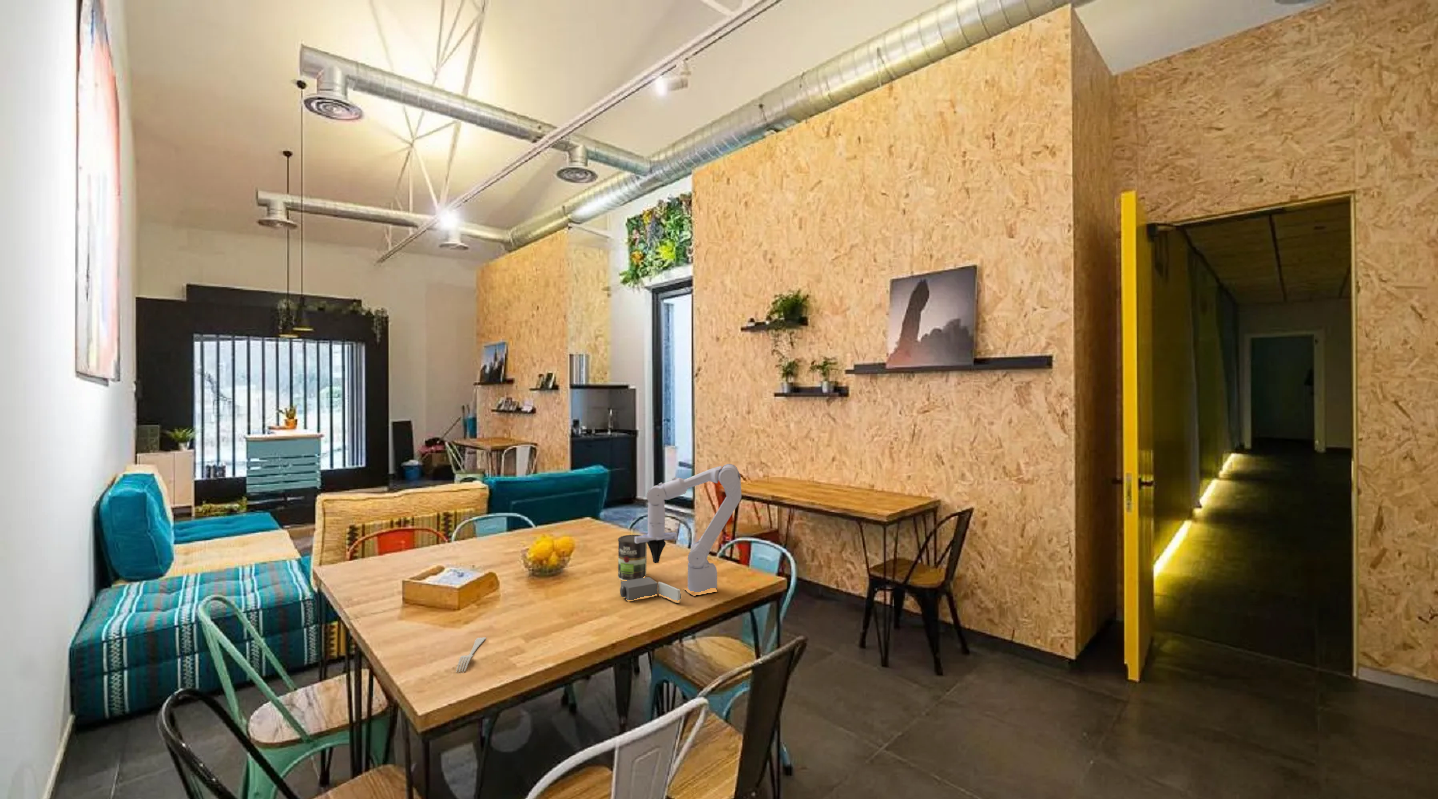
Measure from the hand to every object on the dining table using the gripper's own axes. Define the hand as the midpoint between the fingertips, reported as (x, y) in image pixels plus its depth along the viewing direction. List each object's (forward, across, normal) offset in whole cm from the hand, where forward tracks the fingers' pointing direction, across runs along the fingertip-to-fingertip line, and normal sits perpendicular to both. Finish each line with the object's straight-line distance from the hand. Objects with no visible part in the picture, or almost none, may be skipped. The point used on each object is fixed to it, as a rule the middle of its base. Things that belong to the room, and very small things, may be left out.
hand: (655, 562), depth 199 cm
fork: (+10, -59, -25) cm, 65 cm away
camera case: (+9, -7, -3) cm, 12 cm away
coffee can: (+10, -3, +16) cm, 19 cm away
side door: (+9, +1, -10) cm, 14 cm away
